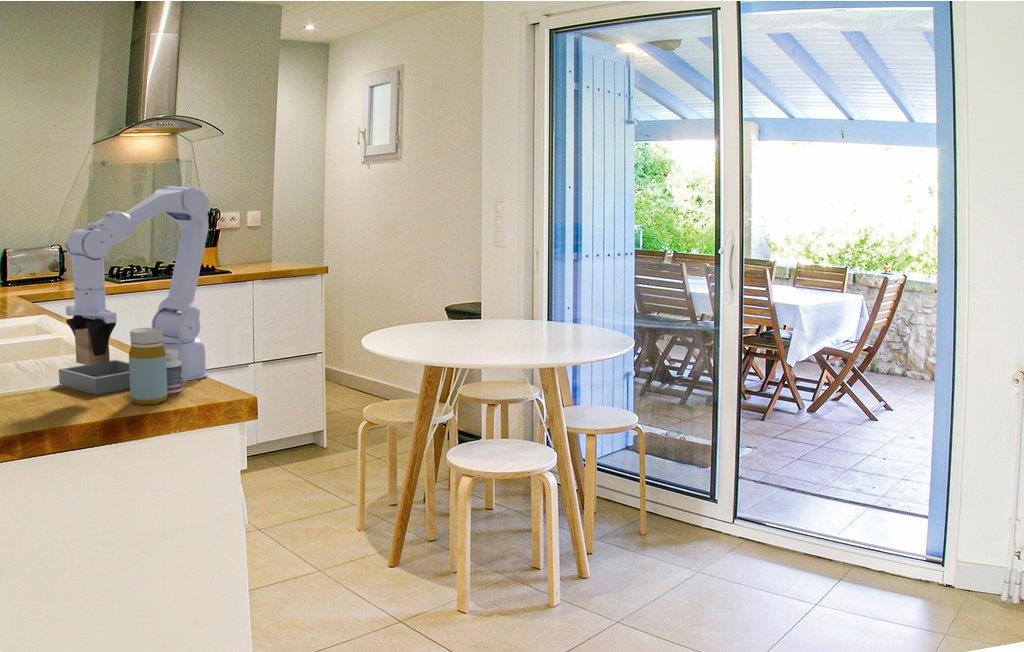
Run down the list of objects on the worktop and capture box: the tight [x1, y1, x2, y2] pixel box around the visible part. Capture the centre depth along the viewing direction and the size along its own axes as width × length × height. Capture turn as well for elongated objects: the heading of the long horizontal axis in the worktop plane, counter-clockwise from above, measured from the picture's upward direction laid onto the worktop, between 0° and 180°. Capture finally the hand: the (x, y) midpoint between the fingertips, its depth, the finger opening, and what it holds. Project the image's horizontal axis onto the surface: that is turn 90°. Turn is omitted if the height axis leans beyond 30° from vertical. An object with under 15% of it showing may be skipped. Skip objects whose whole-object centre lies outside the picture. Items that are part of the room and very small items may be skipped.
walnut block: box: [74, 328, 110, 366], centre depth 173 cm, size 4×4×7 cm
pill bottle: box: [165, 349, 183, 394], centre depth 181 cm, size 5×5×9 cm
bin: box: [58, 359, 130, 396], centre depth 185 cm, size 14×14×4 cm
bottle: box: [128, 327, 168, 406], centre depth 172 cm, size 7×7×15 cm
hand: (92, 353), depth 173 cm, fingers closed on walnut block, 4 cm apart
